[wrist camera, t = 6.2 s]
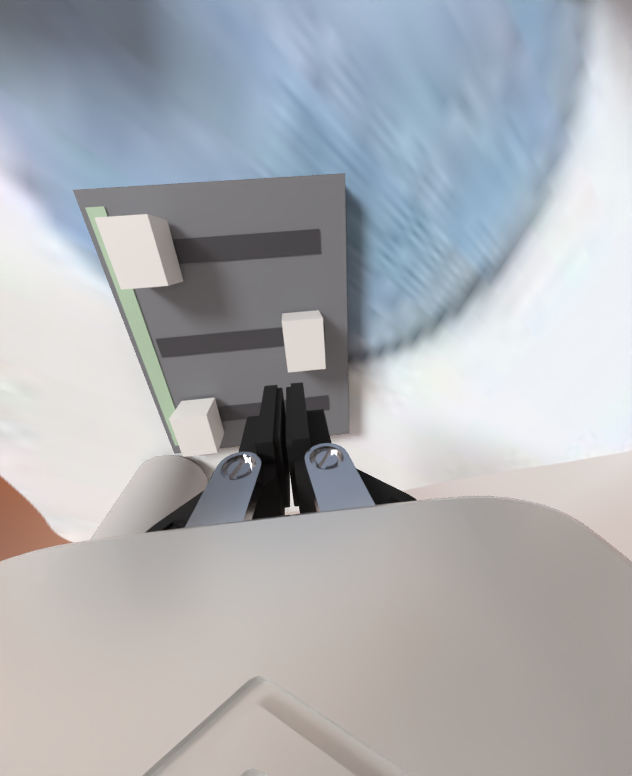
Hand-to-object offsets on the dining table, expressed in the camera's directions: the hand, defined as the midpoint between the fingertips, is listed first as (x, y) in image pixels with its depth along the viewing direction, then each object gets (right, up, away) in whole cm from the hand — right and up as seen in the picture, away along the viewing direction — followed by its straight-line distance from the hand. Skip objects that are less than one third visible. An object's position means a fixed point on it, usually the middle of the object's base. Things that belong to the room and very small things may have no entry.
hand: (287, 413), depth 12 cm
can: (-15, -9, +20) cm, 26 cm away
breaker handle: (0, +6, +11) cm, 13 cm away
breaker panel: (-5, +6, +13) cm, 15 cm away
